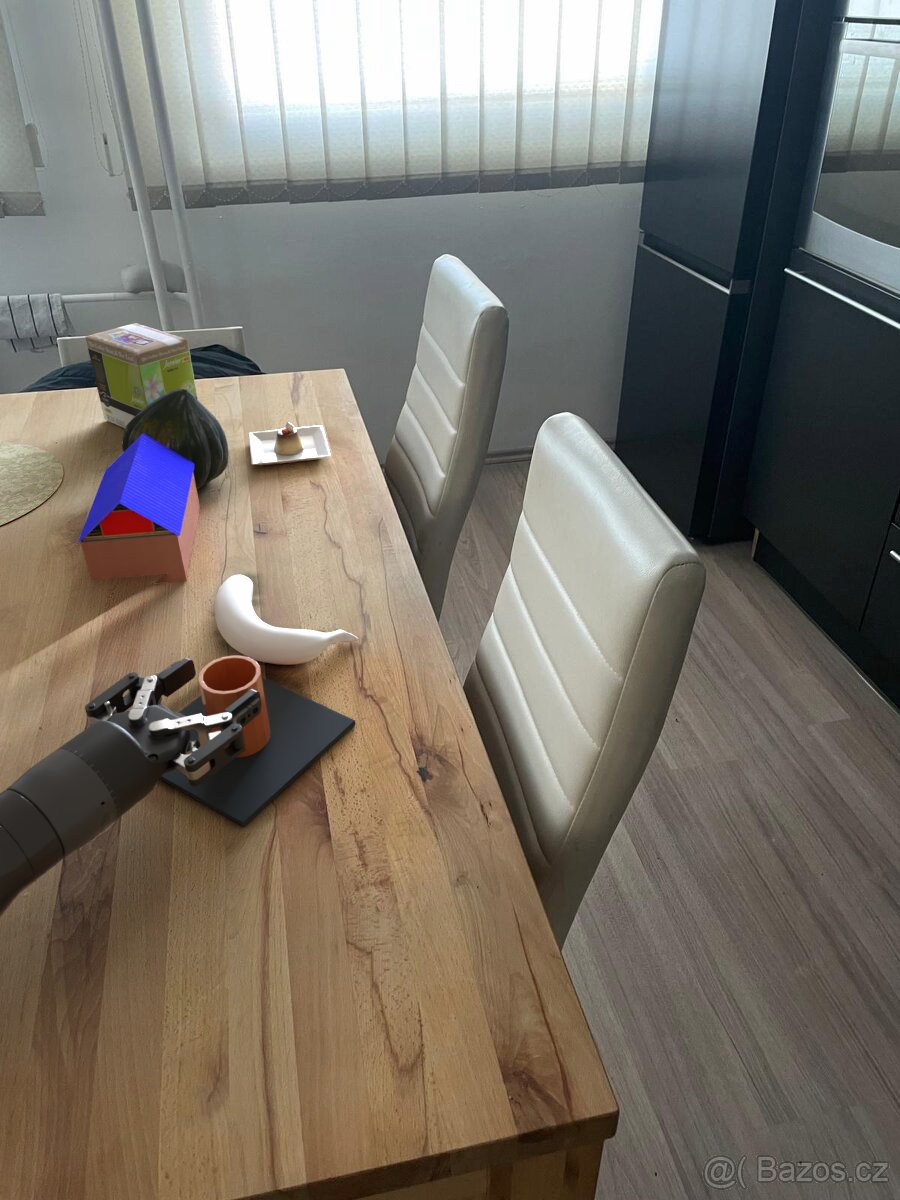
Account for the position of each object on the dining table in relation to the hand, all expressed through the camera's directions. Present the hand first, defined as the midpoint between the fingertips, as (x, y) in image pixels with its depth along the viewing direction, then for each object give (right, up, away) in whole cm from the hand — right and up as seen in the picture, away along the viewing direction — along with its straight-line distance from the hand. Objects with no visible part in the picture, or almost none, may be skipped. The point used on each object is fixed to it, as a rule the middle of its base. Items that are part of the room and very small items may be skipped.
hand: (224, 681), depth 86 cm
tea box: (-29, +37, +70) cm, 85 cm away
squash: (-19, +25, +51) cm, 60 cm away
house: (-19, +15, +36) cm, 44 cm away
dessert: (-4, +31, +60) cm, 68 cm away
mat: (+1, -6, +5) cm, 8 cm away
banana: (+2, +5, +21) cm, 22 cm away
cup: (+1, -6, +4) cm, 7 cm away
